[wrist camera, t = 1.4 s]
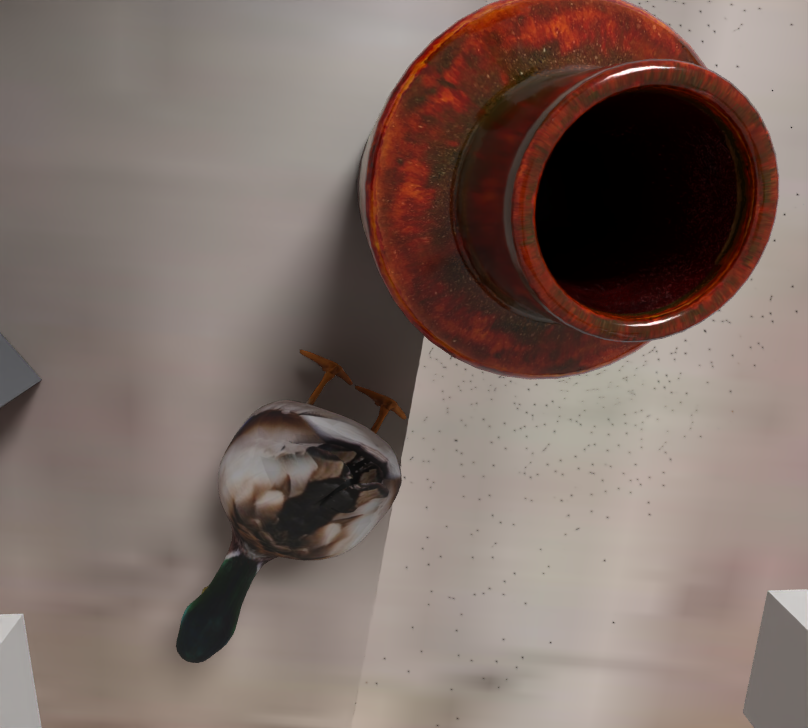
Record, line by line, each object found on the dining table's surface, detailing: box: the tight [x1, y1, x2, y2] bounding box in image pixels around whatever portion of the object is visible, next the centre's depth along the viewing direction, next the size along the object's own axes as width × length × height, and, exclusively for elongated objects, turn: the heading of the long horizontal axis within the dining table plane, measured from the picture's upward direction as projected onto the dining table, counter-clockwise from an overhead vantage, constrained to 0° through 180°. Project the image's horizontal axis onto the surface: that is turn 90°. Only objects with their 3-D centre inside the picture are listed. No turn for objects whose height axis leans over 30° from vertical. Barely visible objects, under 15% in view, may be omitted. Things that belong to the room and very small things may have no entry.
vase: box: [357, 0, 779, 379], centre depth 22 cm, size 11×11×20 cm
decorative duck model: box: [176, 350, 406, 663], centre depth 28 cm, size 15×8×15 cm, turn 144°
